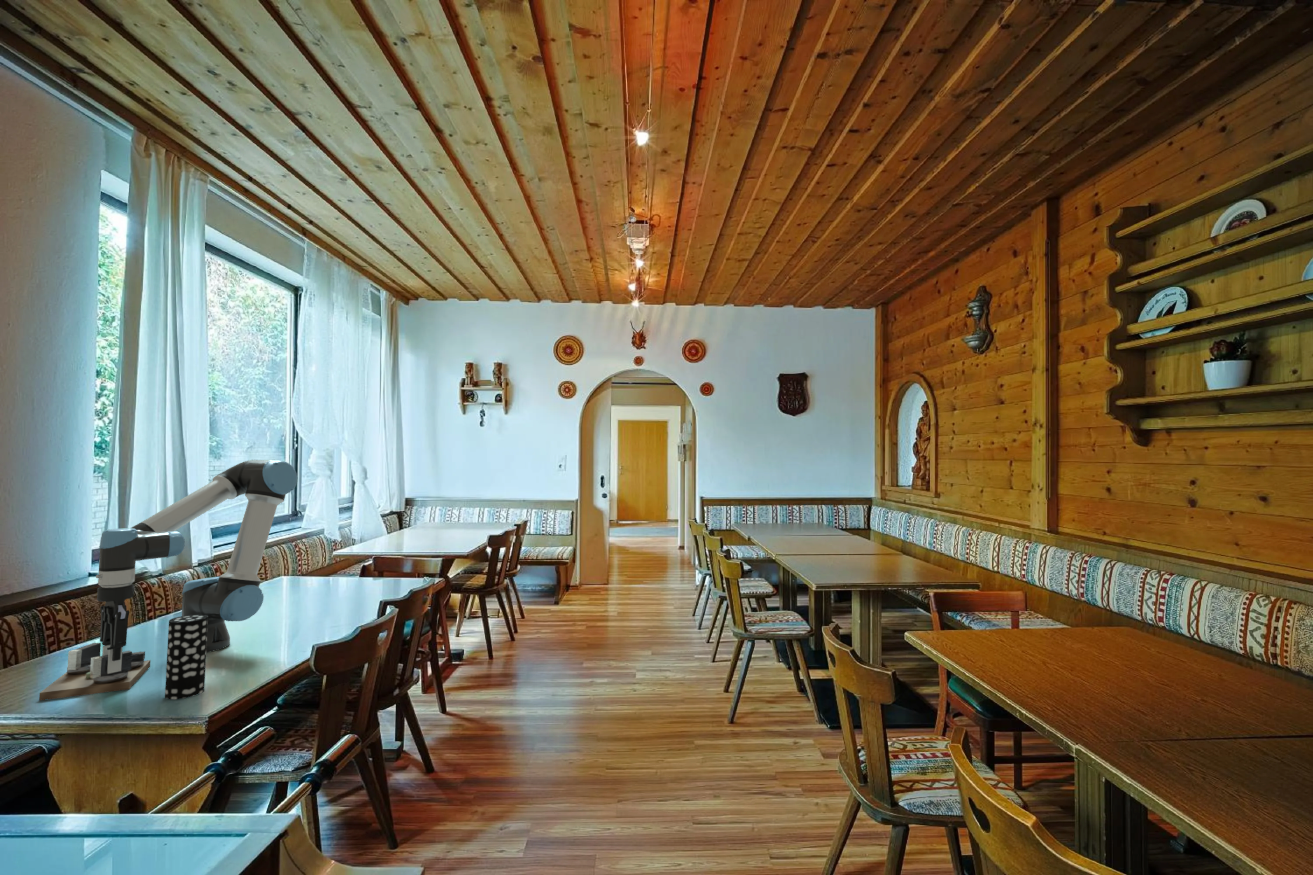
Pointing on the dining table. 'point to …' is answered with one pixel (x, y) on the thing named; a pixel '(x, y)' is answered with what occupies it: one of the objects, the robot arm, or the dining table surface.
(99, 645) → the knob
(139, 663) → the knob
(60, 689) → the base
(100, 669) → the knob
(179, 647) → the white-spotted black cylinder
